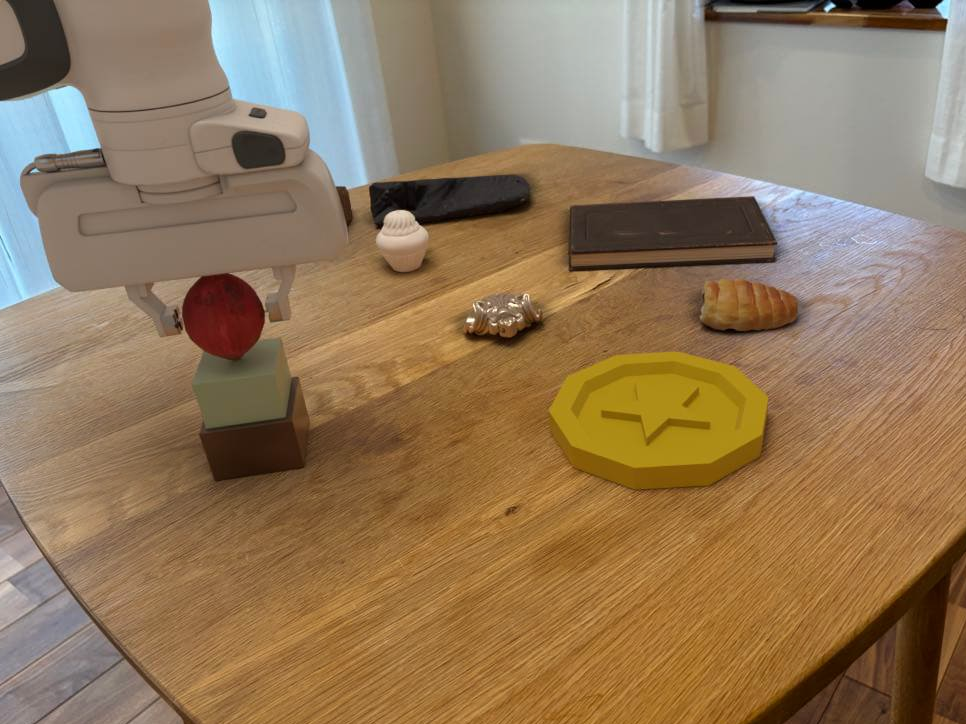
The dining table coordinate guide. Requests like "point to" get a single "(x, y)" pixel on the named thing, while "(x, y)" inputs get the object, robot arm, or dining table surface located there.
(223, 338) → the onion
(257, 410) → the sage block
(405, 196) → the dark slate chunk
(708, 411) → the decorative disc
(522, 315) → the ornament
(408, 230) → the cream cupcake
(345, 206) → the dark brown bar
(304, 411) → the walnut block
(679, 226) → the hardcover book
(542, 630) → the dining table surface
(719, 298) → the pastry
